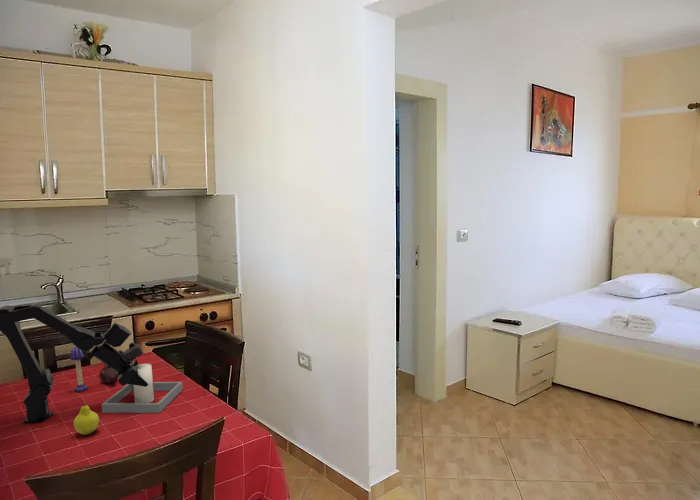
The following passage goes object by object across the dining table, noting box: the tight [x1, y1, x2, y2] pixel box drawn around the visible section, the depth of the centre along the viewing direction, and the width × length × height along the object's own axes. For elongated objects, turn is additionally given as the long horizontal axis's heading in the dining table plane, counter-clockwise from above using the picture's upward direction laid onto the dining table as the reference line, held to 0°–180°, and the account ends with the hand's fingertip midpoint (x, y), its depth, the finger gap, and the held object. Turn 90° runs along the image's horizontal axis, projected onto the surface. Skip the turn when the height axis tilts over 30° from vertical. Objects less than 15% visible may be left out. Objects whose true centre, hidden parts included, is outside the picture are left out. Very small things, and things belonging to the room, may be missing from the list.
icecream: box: [98, 364, 119, 384], centre depth 204 cm, size 7×7×15 cm
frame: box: [101, 381, 184, 414], centre depth 185 cm, size 20×20×3 cm
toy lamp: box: [69, 346, 88, 393], centre depth 196 cm, size 5×5×17 cm
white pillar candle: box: [133, 363, 155, 403], centre depth 185 cm, size 6×6×12 cm
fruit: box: [73, 397, 100, 436], centre depth 161 cm, size 7×7×12 cm
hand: (147, 382), depth 185 cm, fingers closed on white pillar candle, 6 cm apart
